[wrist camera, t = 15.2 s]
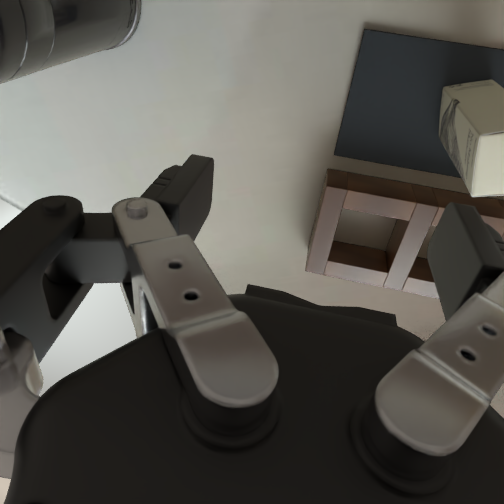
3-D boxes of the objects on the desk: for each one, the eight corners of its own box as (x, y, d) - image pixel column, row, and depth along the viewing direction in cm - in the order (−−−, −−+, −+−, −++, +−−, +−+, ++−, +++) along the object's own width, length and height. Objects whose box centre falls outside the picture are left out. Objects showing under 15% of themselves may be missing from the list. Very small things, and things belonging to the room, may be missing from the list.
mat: (334, 153, 43) (333, 155, 43) (364, 28, 36) (364, 29, 36) (524, 187, 41) (526, 189, 41) (596, 63, 34) (598, 64, 34)
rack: (307, 250, 51) (305, 271, 47) (327, 168, 44) (326, 185, 41) (472, 283, 49) (482, 307, 46) (518, 203, 42) (534, 224, 39)
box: (441, 85, 37) (478, 129, 27) (494, 78, 36) (554, 121, 26) (437, 140, 40) (469, 199, 30) (486, 135, 39) (537, 195, 28)
